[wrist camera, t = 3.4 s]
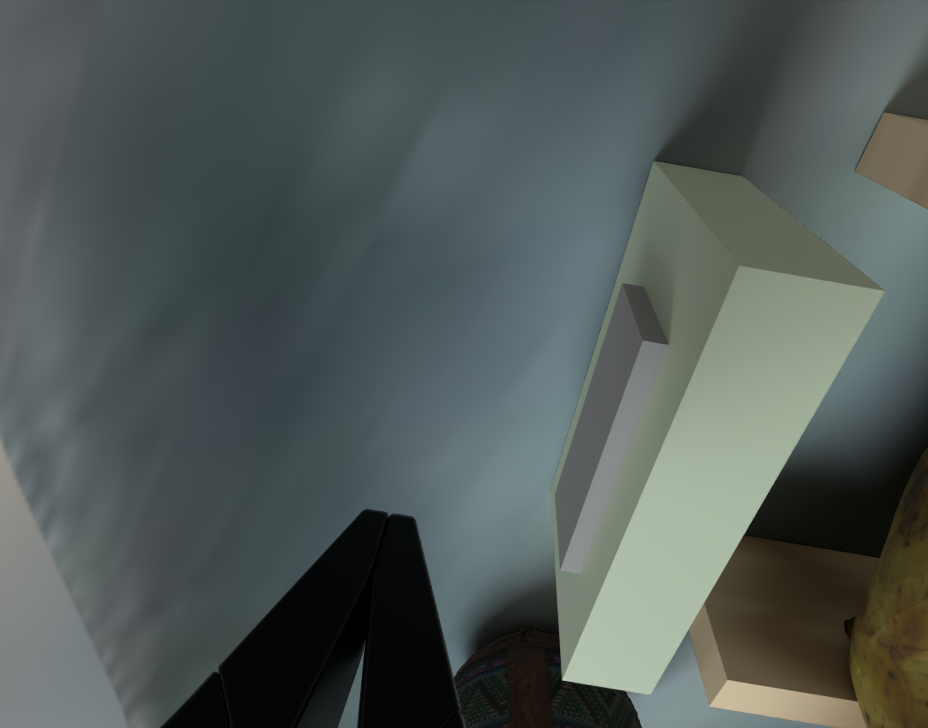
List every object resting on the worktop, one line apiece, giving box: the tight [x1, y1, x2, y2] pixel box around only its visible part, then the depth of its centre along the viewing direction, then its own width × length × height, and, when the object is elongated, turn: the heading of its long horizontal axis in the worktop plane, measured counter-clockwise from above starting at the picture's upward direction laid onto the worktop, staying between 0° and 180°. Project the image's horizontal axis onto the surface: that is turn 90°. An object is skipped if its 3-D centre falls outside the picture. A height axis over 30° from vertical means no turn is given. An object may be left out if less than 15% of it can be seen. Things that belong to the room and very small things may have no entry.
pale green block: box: [550, 161, 886, 695], centre depth 13 cm, size 2×10×6 cm, turn 171°
